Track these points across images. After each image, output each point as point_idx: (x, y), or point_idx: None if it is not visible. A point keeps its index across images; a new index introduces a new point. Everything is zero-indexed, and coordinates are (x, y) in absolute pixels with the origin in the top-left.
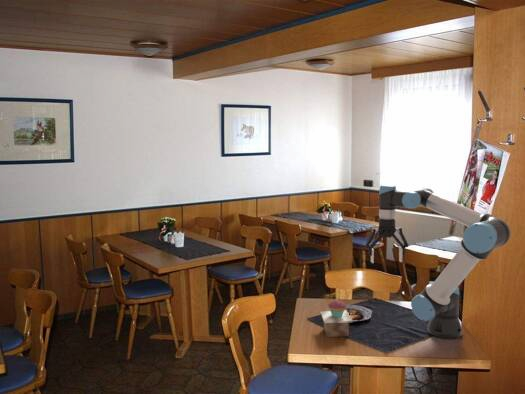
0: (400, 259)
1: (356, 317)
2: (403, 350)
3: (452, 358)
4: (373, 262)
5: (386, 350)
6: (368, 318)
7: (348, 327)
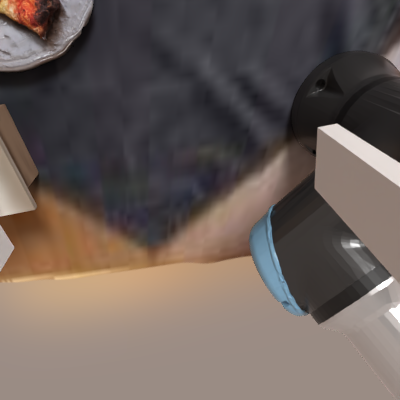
0: (329, 195)
1: (28, 26)
2: (195, 234)
3: None
4: (10, 250)
5: (154, 240)
6: (84, 22)
7: (27, 187)
